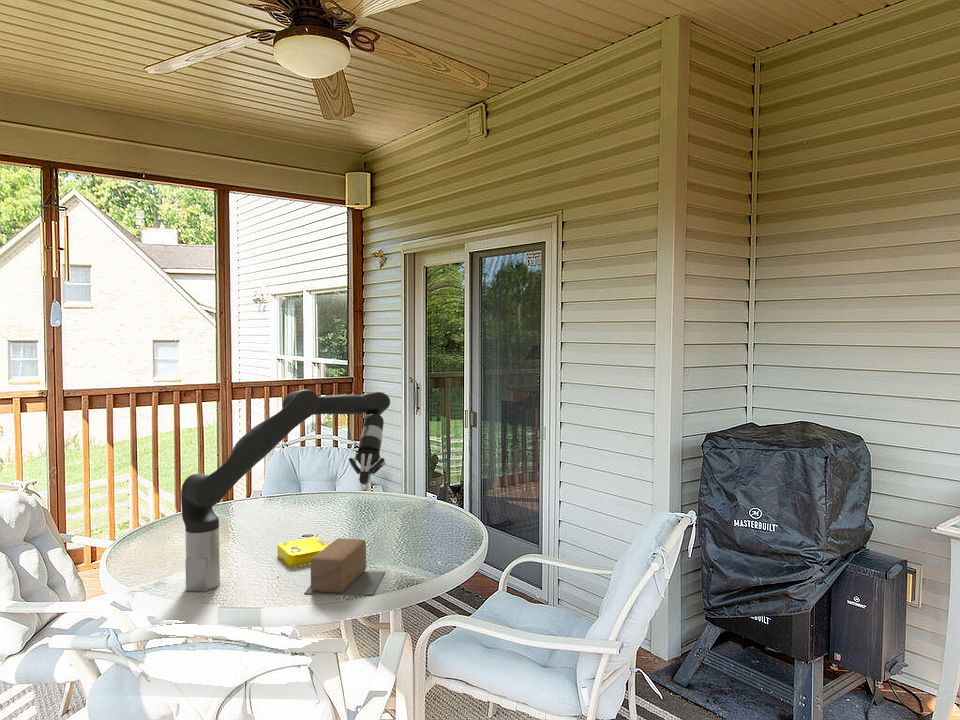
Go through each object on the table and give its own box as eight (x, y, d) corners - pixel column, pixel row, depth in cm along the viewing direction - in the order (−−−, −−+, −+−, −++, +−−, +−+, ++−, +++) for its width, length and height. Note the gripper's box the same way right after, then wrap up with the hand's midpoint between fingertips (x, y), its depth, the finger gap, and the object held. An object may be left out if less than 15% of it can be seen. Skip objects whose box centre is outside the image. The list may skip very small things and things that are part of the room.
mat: (373, 595, 189) (373, 594, 189) (304, 594, 190) (304, 593, 190) (384, 572, 207) (384, 571, 207) (322, 571, 208) (322, 570, 208)
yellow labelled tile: (334, 560, 220) (334, 546, 219) (289, 569, 211) (289, 554, 211) (318, 548, 232) (318, 535, 232) (275, 556, 224) (275, 542, 224)
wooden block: (367, 570, 208) (342, 594, 189) (337, 568, 210) (309, 592, 191) (366, 538, 208) (341, 560, 188) (337, 537, 210) (309, 557, 190)
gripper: (350, 434, 231) (341, 477, 219) (387, 434, 230) (381, 477, 218) (353, 447, 236) (345, 489, 224) (390, 447, 235) (384, 489, 224)
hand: (363, 483), depth 221 cm, fingers closed
